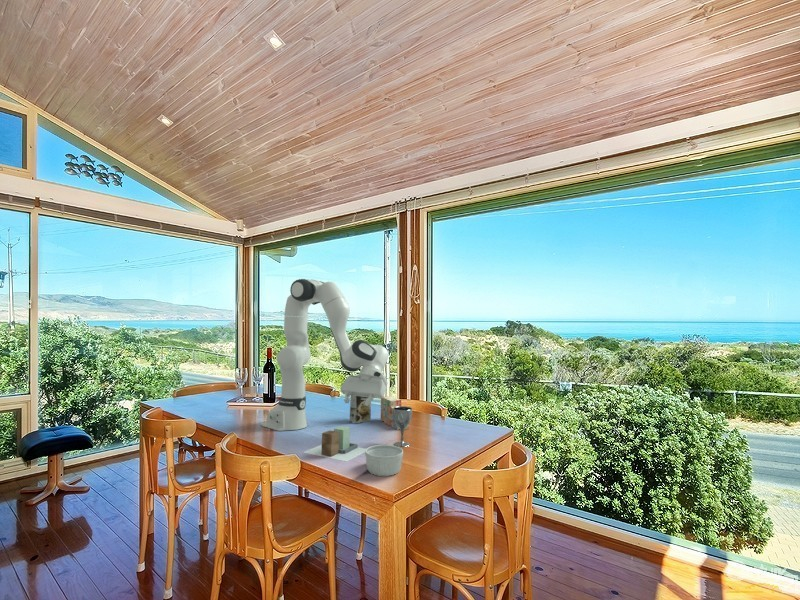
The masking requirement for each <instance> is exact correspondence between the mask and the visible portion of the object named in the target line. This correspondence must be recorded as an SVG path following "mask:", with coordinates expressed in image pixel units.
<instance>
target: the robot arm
mask: <svg viewBox="0 0 800 600" xmlns="http://www.w3.org/2000/svg"><path fill="white" fill-rule="evenodd" d="M289 289H290V290H289V291H290V295H288V297H287V298H286V302H285V306H284V307H285V308H284V320H283V325H284V326H283V333H284V335H285V340H286V346H284V347H283V348H281V349H280V350H279V352H278V353H277V354H276V362H277V364H278V366H279V371H280V377H281V395H280V397H278V398H276V401H278V402H277V403H278V404H277V405H276V406H274V407H273V408H272V409H271V410H269V411H268V412H267V415H266V419H265V421H263V422H261V423H260V426H262V427H263V428H264V427H265V428H268V429H270V430H275V431H278V432H280V431H296V430H297V431H298V430H302V429H304V428H307V427H308V421H307V416H306V403H307V399H306V398H307V397H306V378H305V375H304V370H303V366H304V365H306V364H308V362H309V361H310V359H311V356H312V353H311V350H310V343H309V337H308V335H309V334H308V326H309V325H308V321H309V308H310V306H311V305H314V306H315V305H317V304H320V305H321V306H322V308H323V311H324V313H325V315H326V317H327V319H328V324H329V326H330V327H329V329H330V331H331V334H332V336H333V339H334V341H335V342H334V343H335V345H336V347H337V350H338V352H339V360H340V364H341V367H342V368H343V369H344V370H346V371H347V372H350V373H351V372H352V373H353V372H354V373H355V372H357V371H359V370H360V369H361V370H360V371H359V373H358V374H357V375H349V376H347V377H346V379H345V380H344V382H343V383H341V384H342V385H340V387H339V389H340V391H341V393H342V394H343V395H345V398H344V400H343V401H344V404H349V403H350V400H351V395H354V396H362V397H369V398H368V399H367V400H364V402H363V404H364V405H365V406H368V404H369V403H370V402H371V403H372V401H373V400H374V399H380V400H381V398H382V397H385V393H386V390H387V386H388V380H387V378H386V376H385V375H384V374H383V373H382V372H383V370H384V369H385V366H386V364H387V362H388V358H389V353H388V350H387V349H386V347H385V346H383V345H381V344H371V343H369V342H367V341H365V340H363V339H356V340H355V341H353V343H352V344H351V342H350V339H349V336H348V334H347V322H348V321H349V316H350V307H349V303H348V302H347V299H346V297H345V296H344V294H343V292H342V291H341V289H340V288H339V286H338V285H337V284H336V283H335V282H333V281H325V282H324V281H321V280H320V281H319V280H317V279H306V278H299V279H296V280H295V281H293V282H292V284H291V286H290V288H289Z"/></svg>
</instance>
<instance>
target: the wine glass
mask: <svg viewBox="0 0 800 600" xmlns="http://www.w3.org/2000/svg"><path fill="white" fill-rule="evenodd" d="M393 416H394V421H395V423H396V424H397V425H398V427H399V428H400V430H399V431H400V436H401V437H400V438H401V439H400V441H395V442H394V443H393V446H394V445H395V446H398V447H400V448H406V447H407V446H408V447H410V446H411V443H410V442H408V441H407V442H406V441H404V432H405V430H406V429H405V428H406V427H407V425H408V424H410V423H411V421H412V418H413V408H412V407H410V406H405V405H404V406H403V405H401V406H398V407H394V408H393ZM409 443H410V444H409ZM409 445H410V446H409ZM408 447H407V448H408Z"/></svg>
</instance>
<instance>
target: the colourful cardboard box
mask: <svg viewBox="0 0 800 600" xmlns="http://www.w3.org/2000/svg"><path fill="white" fill-rule="evenodd" d="M398 406H402V400H401V399H399V398H397V397H394V396H392V395H390V396H388V395H387V396H383V397H382V398H381V399H380V421H381V422H383V421H384V422H383V423H385V424H386V423H387V424H386V425H388V424H389V425H388V426H390V427H392V429H393V428H394V429H395V430H397V431H398V430H399V429H400V428H399V427H398V425H397V424H396V423H395V421H394V416H393V408H394V407H398ZM409 424H410V423H409ZM409 424H408V425H407V427H406V428H405V430H409ZM399 431H400V430H399Z"/></svg>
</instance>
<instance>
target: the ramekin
mask: <svg viewBox="0 0 800 600" xmlns="http://www.w3.org/2000/svg"><path fill="white" fill-rule="evenodd" d="M365 449H366V450H365V452H364V455H365V463H366V464H365V465H366V469H367V471H368V473H370V474H371V475H373V474H374V475H373V476H376V475H378V476H377V477H390V476H389V475H392V476H395V475H397V474H398V473H399V472H401V468H402V464H403V456H404V450H403V448H402V447H397V446H394V444H392V445H391V444H375V445H371V446H369V447H367V448H365ZM394 474H395V475H394Z"/></svg>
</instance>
